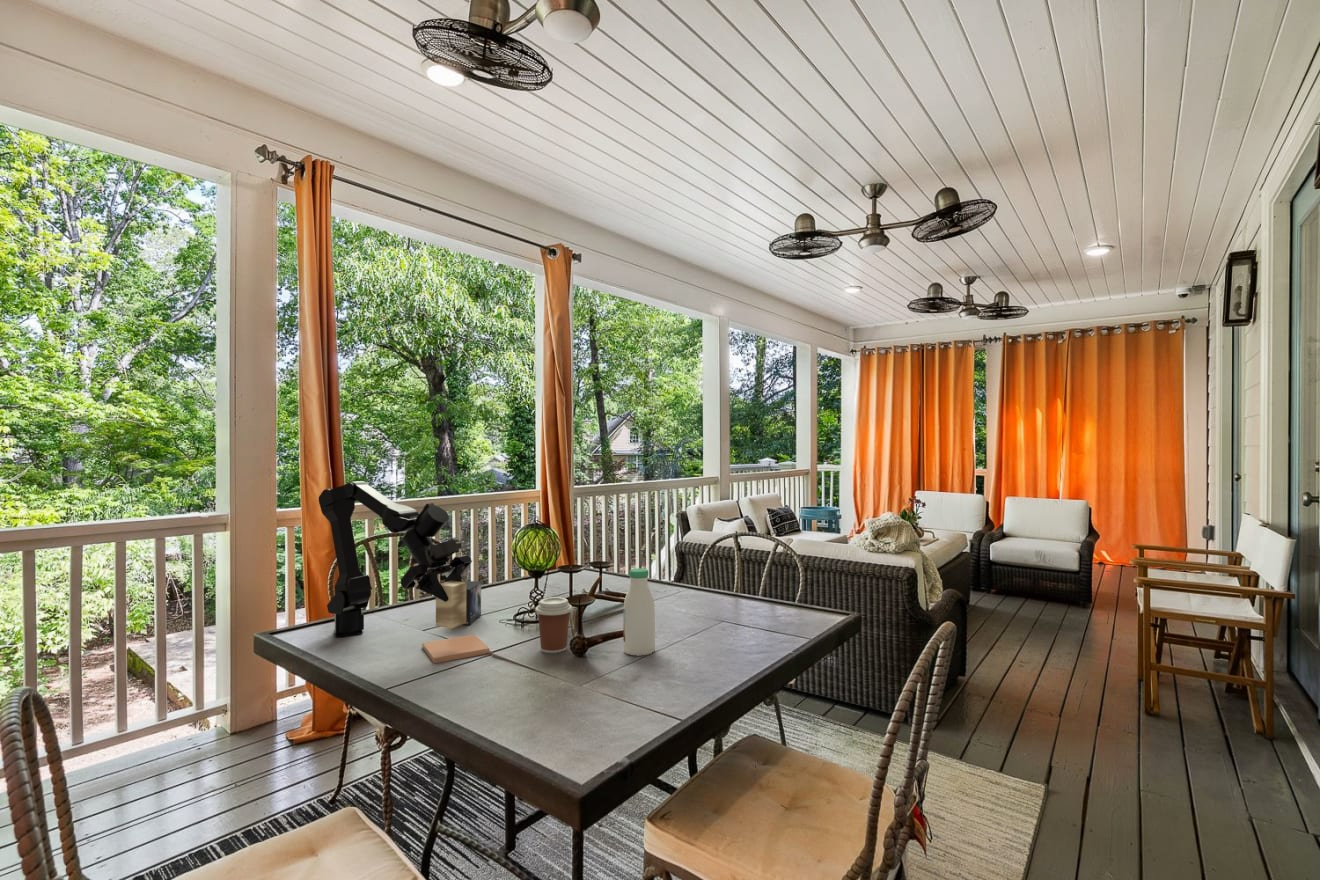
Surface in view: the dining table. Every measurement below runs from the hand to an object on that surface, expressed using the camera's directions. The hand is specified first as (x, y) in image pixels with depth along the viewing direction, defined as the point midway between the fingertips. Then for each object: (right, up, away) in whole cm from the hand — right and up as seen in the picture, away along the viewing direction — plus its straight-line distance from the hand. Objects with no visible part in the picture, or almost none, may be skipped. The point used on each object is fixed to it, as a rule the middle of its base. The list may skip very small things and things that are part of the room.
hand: (455, 598), depth 151 cm
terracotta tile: (-1, -13, +2) cm, 14 cm away
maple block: (-1, -7, +1) cm, 7 cm away
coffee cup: (+24, -14, +3) cm, 27 cm away
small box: (-6, -14, +28) cm, 32 cm away
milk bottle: (+45, -13, +1) cm, 47 cm away
